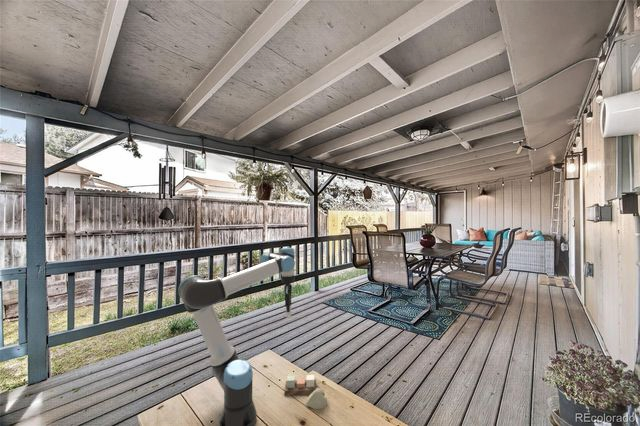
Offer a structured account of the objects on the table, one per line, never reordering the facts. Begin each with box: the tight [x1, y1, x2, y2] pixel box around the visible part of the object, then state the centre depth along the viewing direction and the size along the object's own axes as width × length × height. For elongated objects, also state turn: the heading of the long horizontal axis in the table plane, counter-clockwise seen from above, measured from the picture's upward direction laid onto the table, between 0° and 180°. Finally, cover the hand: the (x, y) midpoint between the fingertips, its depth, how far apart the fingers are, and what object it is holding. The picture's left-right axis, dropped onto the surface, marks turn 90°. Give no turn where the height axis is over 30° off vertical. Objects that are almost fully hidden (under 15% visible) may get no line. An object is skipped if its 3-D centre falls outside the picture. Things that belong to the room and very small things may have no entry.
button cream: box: [305, 374, 315, 388], centre depth 125 cm, size 4×4×4 cm
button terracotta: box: [296, 377, 306, 388], centre depth 125 cm, size 4×4×4 cm
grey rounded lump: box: [305, 388, 328, 410], centre depth 115 cm, size 8×8×8 cm
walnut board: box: [283, 379, 317, 396], centre depth 125 cm, size 16×8×2 cm, turn 92°
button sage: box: [286, 374, 296, 389], centre depth 125 cm, size 4×4×4 cm
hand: (288, 316), depth 137 cm, fingers closed
